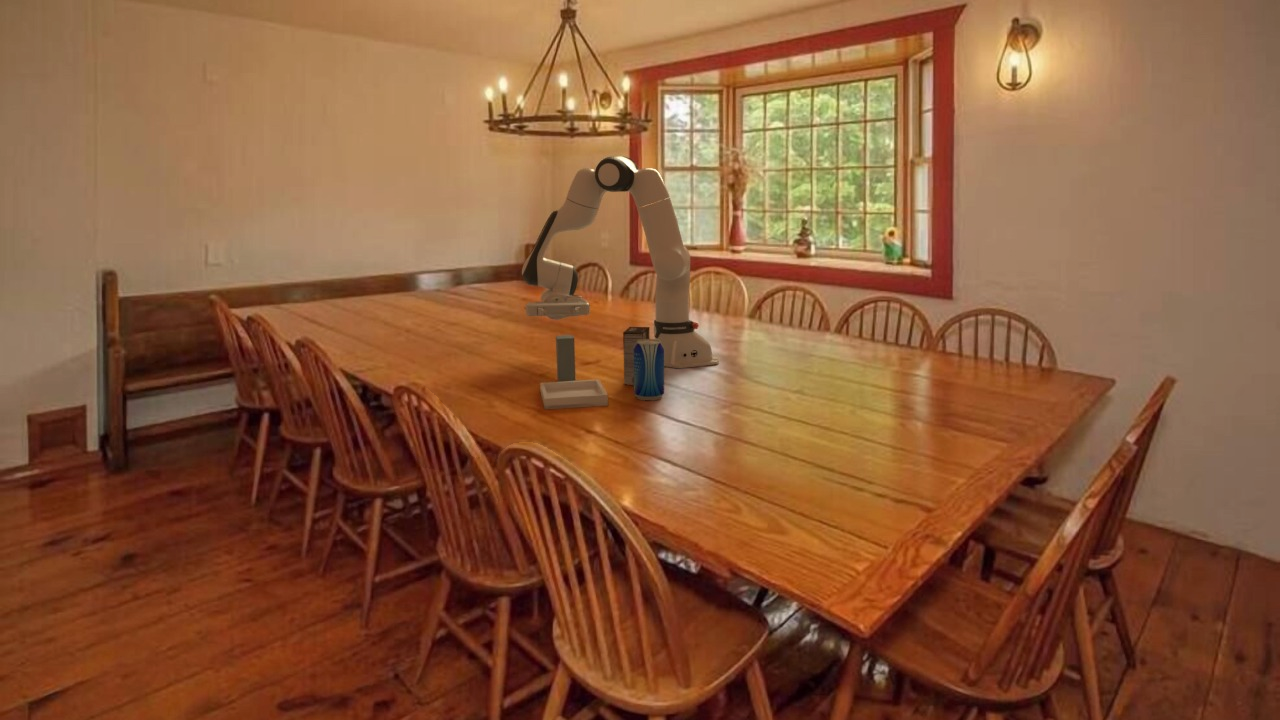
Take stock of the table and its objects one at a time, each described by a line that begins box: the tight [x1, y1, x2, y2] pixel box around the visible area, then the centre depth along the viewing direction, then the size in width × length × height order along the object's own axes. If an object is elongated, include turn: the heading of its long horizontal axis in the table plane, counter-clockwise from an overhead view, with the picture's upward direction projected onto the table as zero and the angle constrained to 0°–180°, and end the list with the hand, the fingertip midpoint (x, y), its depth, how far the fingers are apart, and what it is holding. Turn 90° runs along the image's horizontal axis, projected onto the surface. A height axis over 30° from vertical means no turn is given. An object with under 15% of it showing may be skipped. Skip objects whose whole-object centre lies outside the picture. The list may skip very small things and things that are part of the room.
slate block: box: [555, 334, 576, 382], centre depth 236 cm, size 5×5×14 cm
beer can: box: [633, 338, 665, 401], centre depth 218 cm, size 8×8×16 cm
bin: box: [539, 378, 609, 411], centre depth 219 cm, size 17×17×3 cm
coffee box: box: [622, 326, 651, 386], centre depth 235 cm, size 9×6×16 cm
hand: (559, 312), depth 244 cm, fingers open, 8 cm apart
